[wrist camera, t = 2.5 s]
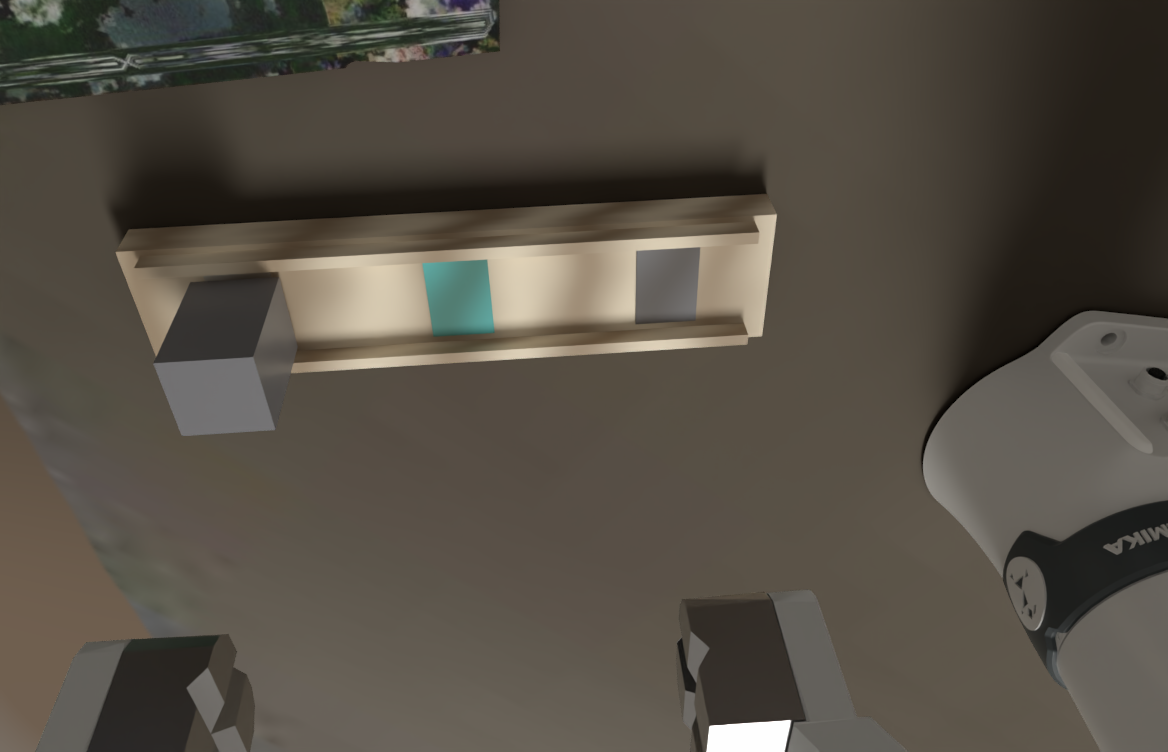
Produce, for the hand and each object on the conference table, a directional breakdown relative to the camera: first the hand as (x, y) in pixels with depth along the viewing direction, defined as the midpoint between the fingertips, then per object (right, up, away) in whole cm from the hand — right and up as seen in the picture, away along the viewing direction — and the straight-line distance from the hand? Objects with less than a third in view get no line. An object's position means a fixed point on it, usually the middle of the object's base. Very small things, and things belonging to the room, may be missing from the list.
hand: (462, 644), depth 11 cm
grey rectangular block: (-15, +6, +33) cm, 37 cm away
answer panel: (-5, +8, +36) cm, 37 cm away
